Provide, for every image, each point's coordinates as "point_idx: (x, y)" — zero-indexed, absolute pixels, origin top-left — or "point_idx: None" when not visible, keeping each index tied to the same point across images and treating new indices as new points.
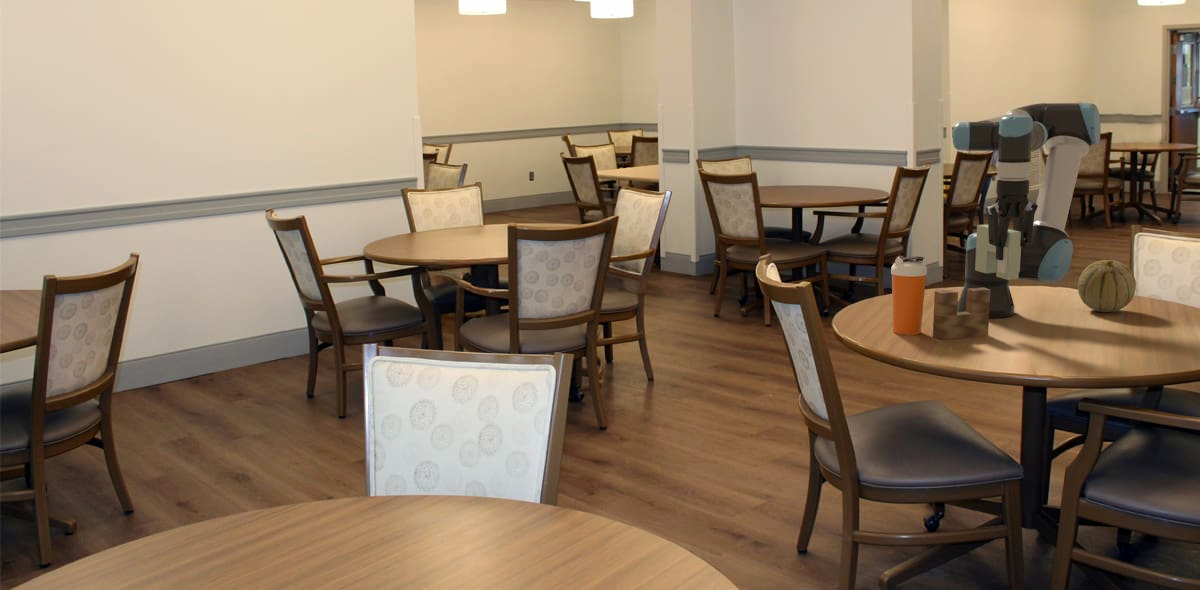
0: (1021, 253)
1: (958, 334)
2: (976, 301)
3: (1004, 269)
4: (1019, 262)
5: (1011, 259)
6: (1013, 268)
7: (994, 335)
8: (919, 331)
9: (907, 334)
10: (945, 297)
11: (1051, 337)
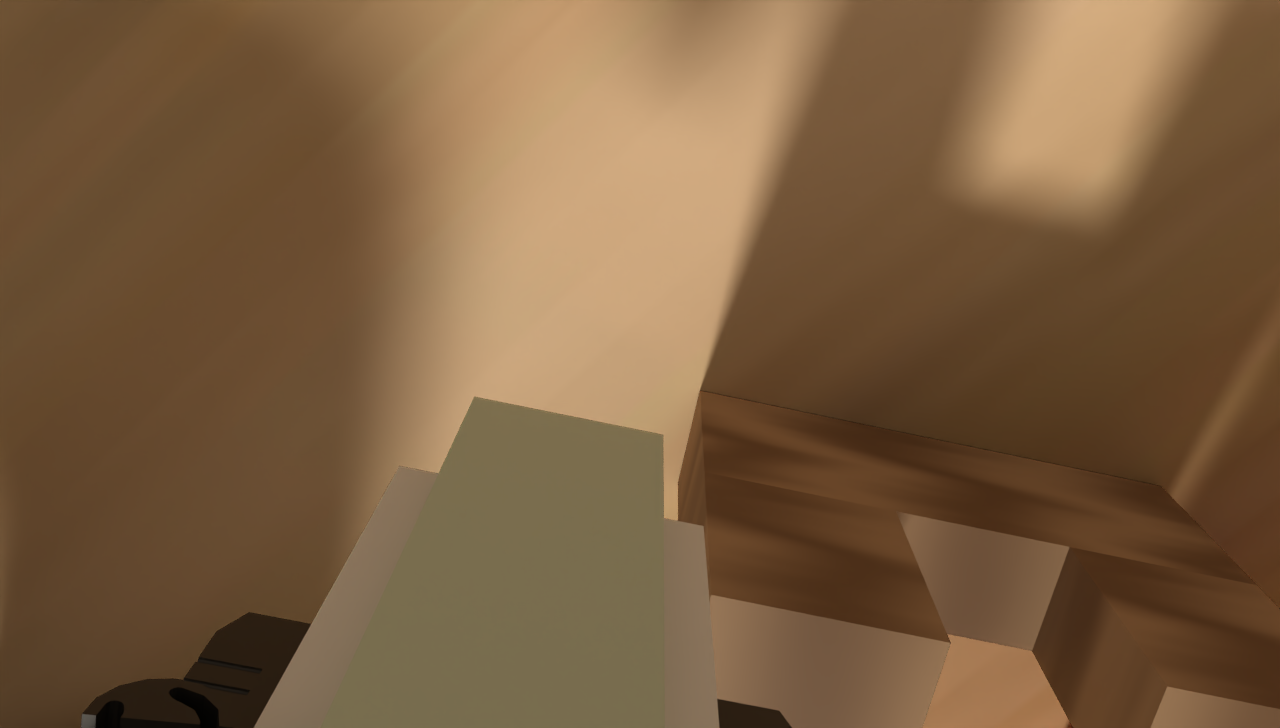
0: (228, 674)
1: (992, 460)
2: (880, 564)
3: (696, 557)
4: (369, 546)
5: (599, 584)
6: (553, 491)
7: (652, 362)
8: None
9: None
10: None
11: (269, 51)
